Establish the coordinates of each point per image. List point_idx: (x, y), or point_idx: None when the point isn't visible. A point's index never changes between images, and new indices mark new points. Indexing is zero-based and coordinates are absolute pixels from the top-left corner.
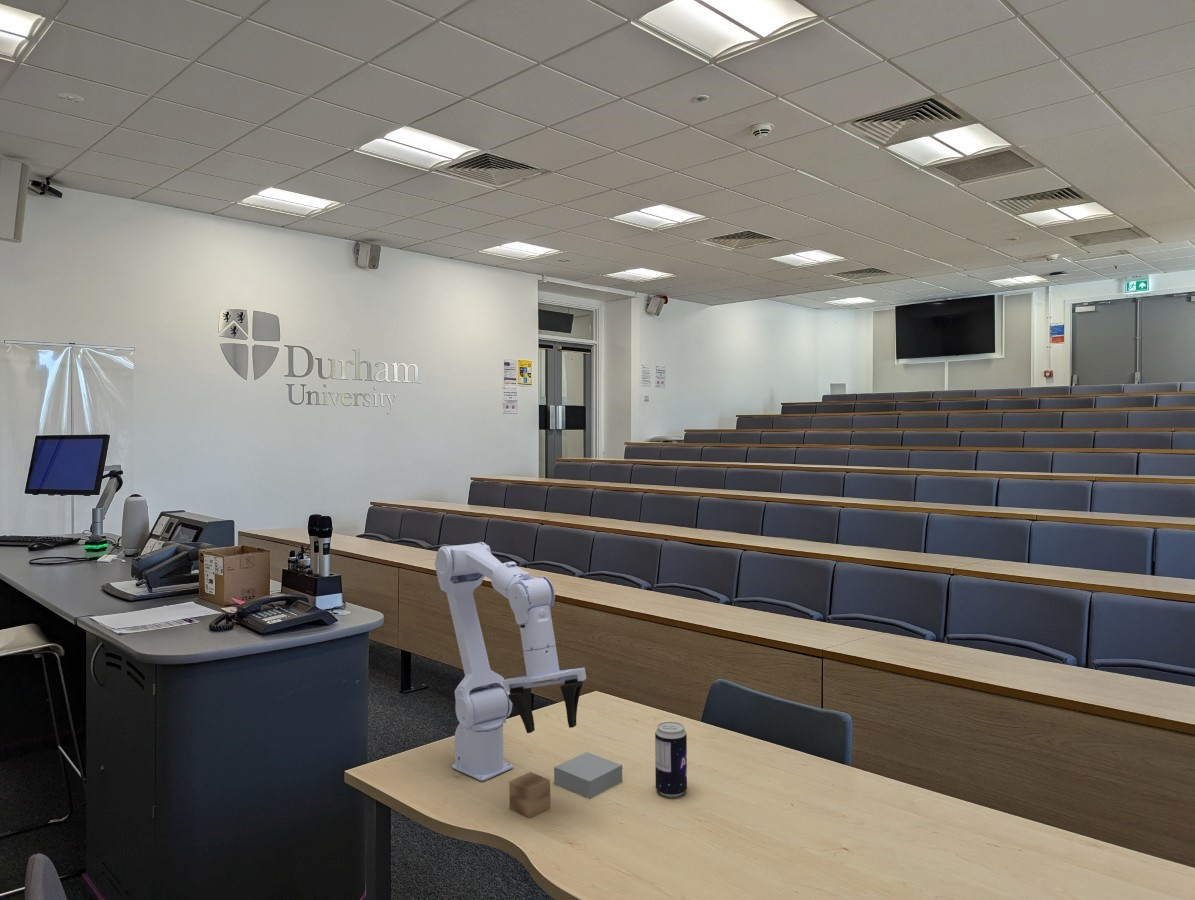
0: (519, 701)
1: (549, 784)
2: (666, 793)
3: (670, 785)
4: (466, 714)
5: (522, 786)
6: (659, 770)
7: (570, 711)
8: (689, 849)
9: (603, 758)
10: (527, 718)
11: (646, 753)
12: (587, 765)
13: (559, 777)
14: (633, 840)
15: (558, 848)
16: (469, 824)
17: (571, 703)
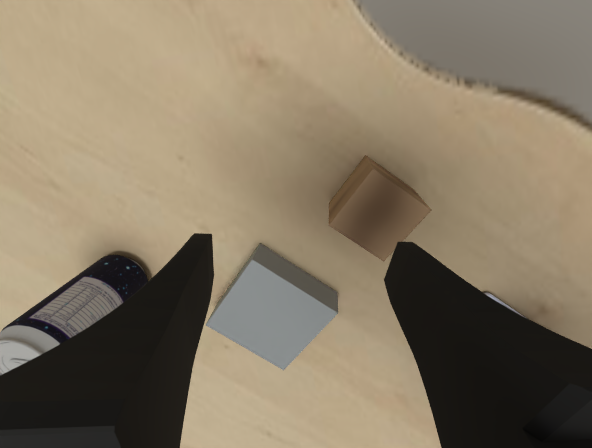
0: (533, 347)
1: (330, 220)
2: (122, 256)
3: (103, 262)
4: None
5: (393, 186)
6: (110, 285)
7: (164, 272)
8: (33, 71)
9: (246, 347)
10: (429, 284)
11: (200, 390)
12: (270, 321)
13: (325, 294)
14: (141, 92)
15: (281, 32)
16: (500, 114)
17: (126, 302)
